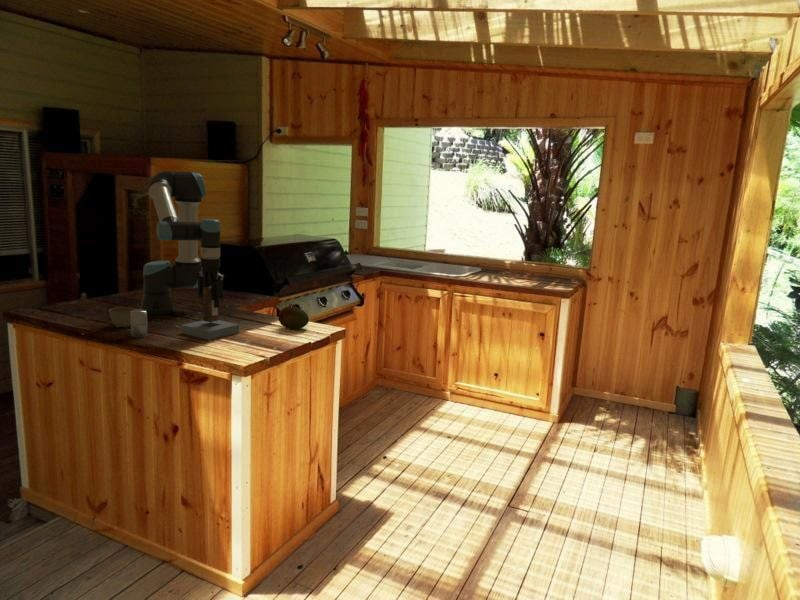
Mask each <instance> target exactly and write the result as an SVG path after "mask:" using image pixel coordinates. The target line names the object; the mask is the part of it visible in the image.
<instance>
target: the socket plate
mask: <svg viewBox="0 0 800 600" xmlns="http://www.w3.org/2000/svg"><path fill="white" fill-rule="evenodd" d="M180 326H181V334H183V335H187V336H190V337H196V338H200V339H203V340H209V341H211V340H215V339H219V338H223V337H227V336H231V335H236V334H240V333H239V332H240V324H238V323H233V322H229V321H223V320H221V319H218V321H214V322H207V321H203V319H202V320H199V321H193V322H189V323H184V324H181V325H180Z"/></svg>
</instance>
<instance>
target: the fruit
mask: <svg viewBox="0 0 800 600" xmlns="http://www.w3.org/2000/svg"><path fill="white" fill-rule="evenodd" d="M277 318H278V321H279V324H280V325H281V326H282V327H284V328H285V329H290V330H299V329H302V328H305V327H306V326H307V325H308V324H309V321H310V319H309V316H308V314H307V312H306V311H304V309H301V308H299V307H296V306H286V307H283V308H282V309H281V310H280V311H279V312H278V317H277Z"/></svg>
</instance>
